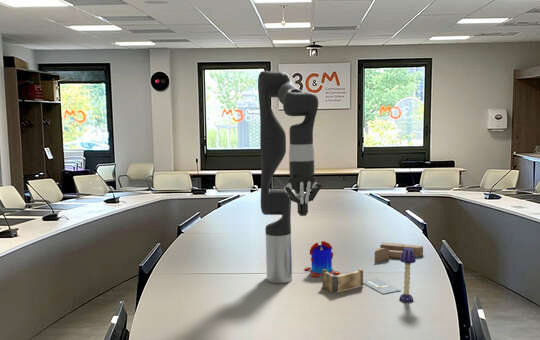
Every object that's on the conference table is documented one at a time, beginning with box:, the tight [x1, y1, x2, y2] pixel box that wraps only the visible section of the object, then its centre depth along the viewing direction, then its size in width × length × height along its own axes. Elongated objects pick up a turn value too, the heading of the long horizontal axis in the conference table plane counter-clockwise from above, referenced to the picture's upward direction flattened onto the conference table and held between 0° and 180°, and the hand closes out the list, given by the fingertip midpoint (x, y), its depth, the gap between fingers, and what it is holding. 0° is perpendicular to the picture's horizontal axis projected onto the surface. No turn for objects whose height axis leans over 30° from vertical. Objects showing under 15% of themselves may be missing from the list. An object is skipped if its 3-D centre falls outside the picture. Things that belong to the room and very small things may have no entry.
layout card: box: [363, 277, 402, 295], centre depth 165 cm, size 14×7×1 cm, turn 22°
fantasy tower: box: [303, 240, 341, 279], centre depth 182 cm, size 12×12×12 cm
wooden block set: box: [374, 241, 424, 263], centre depth 198 cm, size 17×6×18 cm
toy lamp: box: [399, 248, 416, 303], centre depth 151 cm, size 5×5×17 cm
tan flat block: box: [321, 269, 335, 293], centre depth 164 cm, size 7×2×6 cm, turn 22°
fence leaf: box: [332, 269, 364, 293], centre depth 163 cm, size 13×2×5 cm, turn 120°
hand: (302, 215), depth 147 cm, fingers closed
